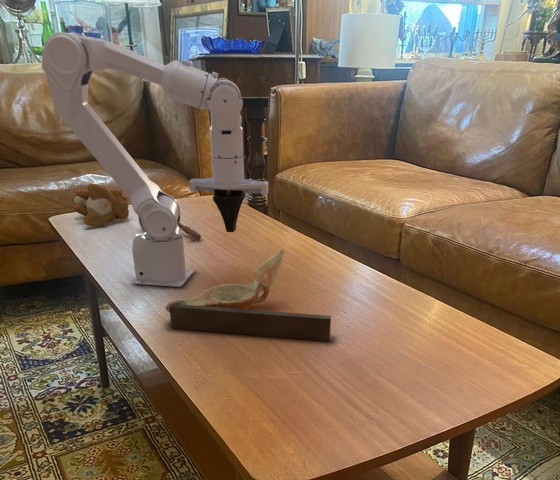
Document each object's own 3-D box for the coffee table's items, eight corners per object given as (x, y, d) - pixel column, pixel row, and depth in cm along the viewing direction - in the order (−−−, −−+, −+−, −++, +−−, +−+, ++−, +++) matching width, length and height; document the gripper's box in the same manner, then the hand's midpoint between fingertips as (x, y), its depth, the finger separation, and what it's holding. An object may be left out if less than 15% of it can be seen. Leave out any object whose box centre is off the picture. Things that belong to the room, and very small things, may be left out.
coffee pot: (136, 225, 138) (167, 225, 143) (168, 254, 126) (200, 252, 131) (138, 196, 134) (170, 196, 139) (171, 223, 122) (204, 222, 127)
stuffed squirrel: (82, 224, 135) (65, 222, 145) (136, 228, 144) (116, 226, 154) (81, 182, 132) (64, 182, 142) (136, 188, 141) (116, 188, 151)
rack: (171, 328, 90) (168, 306, 88) (173, 325, 91) (171, 303, 89) (329, 341, 86) (330, 319, 84) (330, 338, 88) (331, 315, 85)
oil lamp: (292, 311, 96) (293, 257, 91) (173, 333, 89) (166, 275, 84) (274, 293, 103) (273, 241, 98) (161, 312, 96) (154, 257, 90)
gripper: (271, 153, 100) (272, 226, 107) (195, 150, 102) (201, 222, 110) (263, 160, 94) (264, 237, 101) (183, 157, 96) (189, 233, 104)
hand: (231, 230), depth 105 cm, fingers closed
